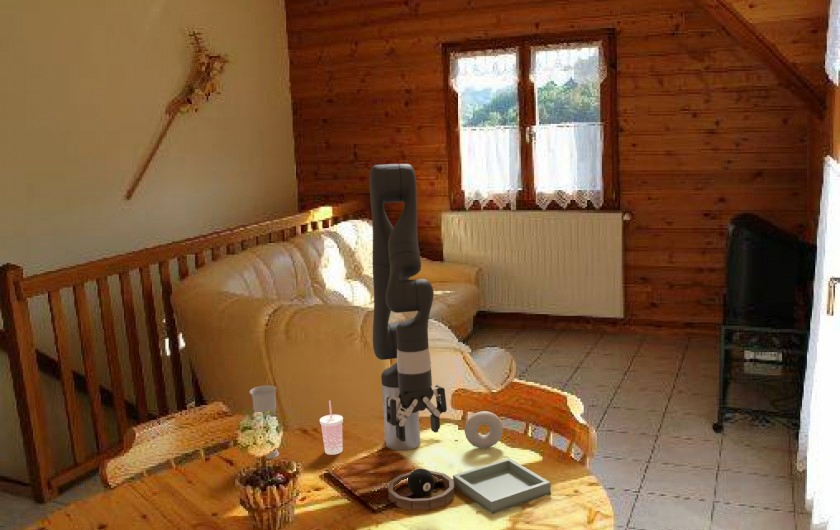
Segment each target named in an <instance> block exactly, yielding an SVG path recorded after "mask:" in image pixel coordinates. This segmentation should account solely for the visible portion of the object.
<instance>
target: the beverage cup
mask: <svg viewBox="0 0 840 530" xmlns="http://www.w3.org/2000/svg"><path fill="white" fill-rule="evenodd" d="M328 406H329V414H328V415H324V416H322V417H321V418H319V424H320V425H321V433H322V434H321V435H322V439H323V446H324V452H325V454H327V455H330V456H331V455H333V456H334V455H338V454H340V453H342V452H343V449H344V448H343V446H344V445H343V421H344V417H343V415H340V414H332V413H333V412H332V403H331V400H328Z"/></svg>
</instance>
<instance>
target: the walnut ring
mask: <svg viewBox="0 0 840 530" xmlns="http://www.w3.org/2000/svg"><path fill="white" fill-rule="evenodd" d="M428 471H429V472H430V473H431V474H432V475H433V476H435V477H437V478H439V479H442V480H443V481H444V484H445V486H444V487H446V488H447V489H446V490H445V491H443V493H441V494H437V495H434V496H432V497H427V498H426V497H424V498H410V497H407V496H403V495H402V496H401V495H399V493H397V492H396V491H393V488H394V486H395V485H396V484H398V483H399V482H400V481H401V480H404V479H407V478H408V477H409V475H410V474H411V472H412V471H410V472H406V473H404V474H399V475H398V476H396V477H395V478H393V479H392V480H391V481H389V482H388V489H387V491H388V494H387V495H388V497H389V496H390V497H391V498H392V499H393V500H394V501H395V502H396V505H397V506H396V505H395V506H396V507H398V508H401V509H405V510H410V511H423V510H426V511H427V510H433V509H436V508H439V507H442V506H445V505H448V503H450V502H451V501H452V500H453V499H454V498H455V487H454V480H453V477H450V476H449V475H447V474H446V473H443V472H440V471H435V470H434V471H433V470H428Z"/></svg>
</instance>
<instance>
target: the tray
mask: <svg viewBox="0 0 840 530" xmlns="http://www.w3.org/2000/svg"><path fill="white" fill-rule="evenodd" d="M452 479H453V480H454V489H457V490H458V492H461V493H462V494H464V495H465V496H466V497H467V498H468V499H470V500H472V501H473V502H475V503H476V504H477V505H479V506H480V507H482V508H483V509H484V510H486V511H487V512H489V513H490V514H492V515H493V514H496V513H499V512H502V511H504V510H507V509H511V508H513V507H516V506H520V505H522V504H525V503H529V502H530V501H534V500H537V499H540V498H543V497H545V496H548V495H549V496H550V495H552V493H551V492H552V490H551V487H552V486H551V482H550V481H549V480H547V479H546V478H544V477H542V476H540V475H539V474H537V473H536V472H534V471H532V470H531V469H528V467H527V468H526V467H525V466H524V465H521V464H520V463H519V462H517V461H515V460H513V459H511V458H510V457H509V458H505V459H502V460H499V461H495V462H491V463H489V464H485V465H482V466H479V467H475V468H471V469H469V470H466V471H463V472H459V473H457V474H453V475H452Z"/></svg>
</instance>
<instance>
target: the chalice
mask: <svg viewBox="0 0 840 530" xmlns="http://www.w3.org/2000/svg"><path fill="white" fill-rule="evenodd" d="M276 391H277V387H276V386H275V385H272V384H271V385H269V384H265V385H264V384H263V385H259V386H255V387H253V388H251V389H250V390H249V393H250V395H251V398H252V408H253V412H254V413H255V412H266V411H269V410H271V411H273V413H274V415H275V413H276V409H277V401H276ZM279 455H280V452H279V451H278V449H277V448H276V450H275V451H273V452H272V453H270V454H269V455H268V456H267V459H266V460H270V459H274V458H277V457H278V456H279Z"/></svg>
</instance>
